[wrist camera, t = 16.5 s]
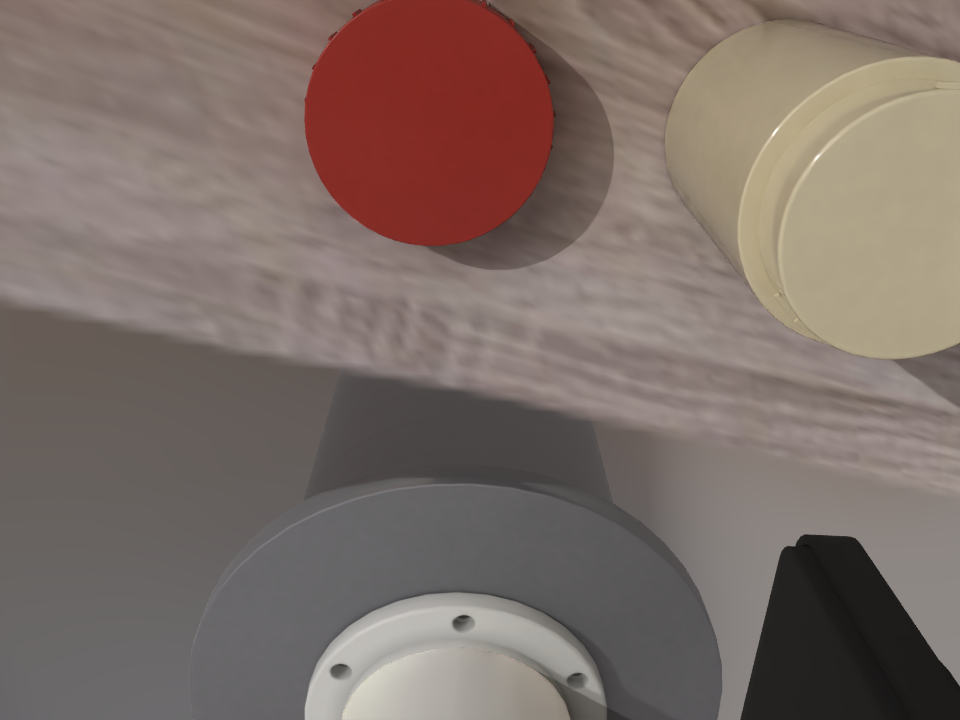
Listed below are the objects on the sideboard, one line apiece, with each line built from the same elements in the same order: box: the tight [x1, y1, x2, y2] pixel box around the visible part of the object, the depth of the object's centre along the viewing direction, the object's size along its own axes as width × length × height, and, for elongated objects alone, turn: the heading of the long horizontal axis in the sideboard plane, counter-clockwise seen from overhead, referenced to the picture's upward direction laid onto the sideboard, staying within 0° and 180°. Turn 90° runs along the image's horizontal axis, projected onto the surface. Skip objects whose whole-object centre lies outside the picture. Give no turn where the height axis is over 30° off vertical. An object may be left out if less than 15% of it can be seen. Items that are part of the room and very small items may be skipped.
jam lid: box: [305, 0, 555, 246], centre depth 25 cm, size 7×7×2 cm
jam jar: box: [665, 19, 960, 359], centre depth 22 cm, size 6×6×10 cm
